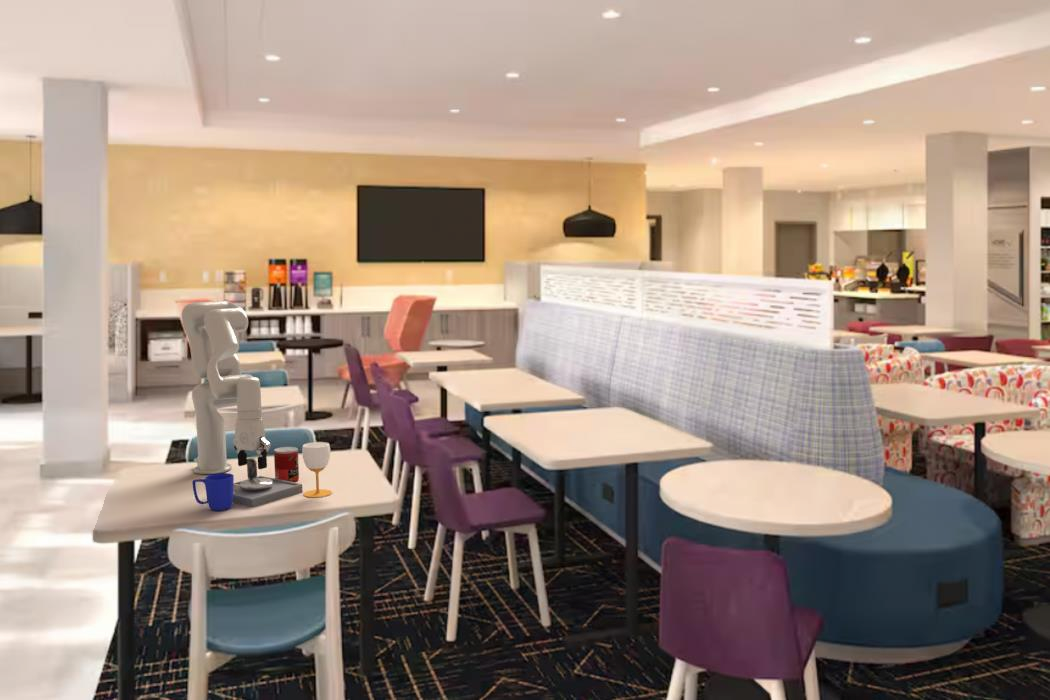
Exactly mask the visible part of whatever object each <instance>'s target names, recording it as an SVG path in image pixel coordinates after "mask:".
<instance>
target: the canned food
mask: <svg viewBox="0 0 1050 700" xmlns="http://www.w3.org/2000/svg"><path fill="white" fill-rule="evenodd" d="M273 459H274V460H273V462H274V479H279V480H284V481H289V482H294V483H298V481H299V478H300V470H299V469H300V468H299V449H298V447H295V446H281V447H277V448H274V449H273Z"/></svg>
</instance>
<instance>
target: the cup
mask: <svg viewBox="0 0 1050 700" xmlns="http://www.w3.org/2000/svg"><path fill="white" fill-rule="evenodd" d="M301 448H302V449H301V453H302V459H303V463H304V465H305V466H306V468H307V469H308V470H309V471H311V472H314V473H315V487H316V489H311V490H308V491H307V490H306V491H304V493H303V496H304V497H305V498H312V499H313V498H314V499H319V498H324V496H325V497H328V495H329V496H331V495H332V494H333V491H332V490H330V489H325V488H322V489H321V488H320V485H319V484H320V483H319V482H320V481H319V480H320V479H319V478H320V477H319V473H320V472H322V471H323V470H325V468H327V466H328V464H329V462H330V458H331V446H330V443H329V442H324V441H316V442H315V441H314V442H307V443H304V444H303V445H302V447H301ZM331 493H332V494H331ZM330 494H331V495H330ZM318 497H319V498H318Z"/></svg>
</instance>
